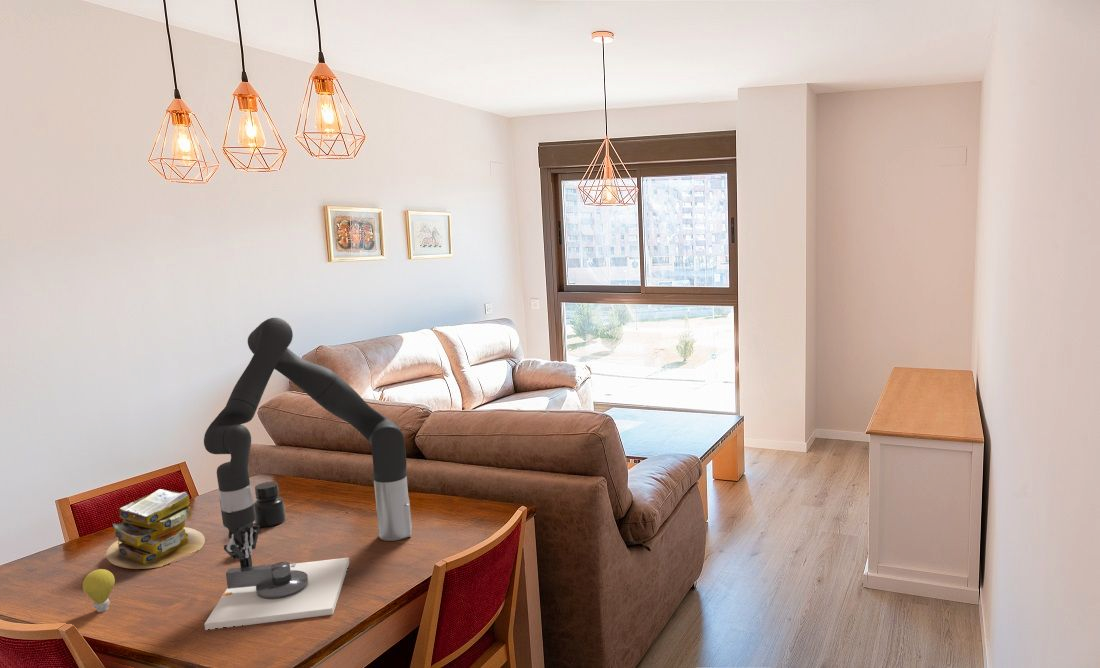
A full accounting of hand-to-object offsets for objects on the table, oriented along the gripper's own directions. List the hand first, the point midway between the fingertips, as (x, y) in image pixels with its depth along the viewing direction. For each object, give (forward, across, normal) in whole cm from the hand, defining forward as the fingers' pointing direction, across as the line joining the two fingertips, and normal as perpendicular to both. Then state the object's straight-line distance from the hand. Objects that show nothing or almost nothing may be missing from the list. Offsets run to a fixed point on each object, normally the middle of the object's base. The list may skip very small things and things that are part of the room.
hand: (247, 570), depth 183 cm
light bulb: (+5, +10, -33) cm, 35 cm away
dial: (+4, +2, +6) cm, 8 cm away
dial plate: (+6, +1, +9) cm, 11 cm away
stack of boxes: (+6, -23, -42) cm, 48 cm away
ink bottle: (+7, -45, -19) cm, 49 cm away
